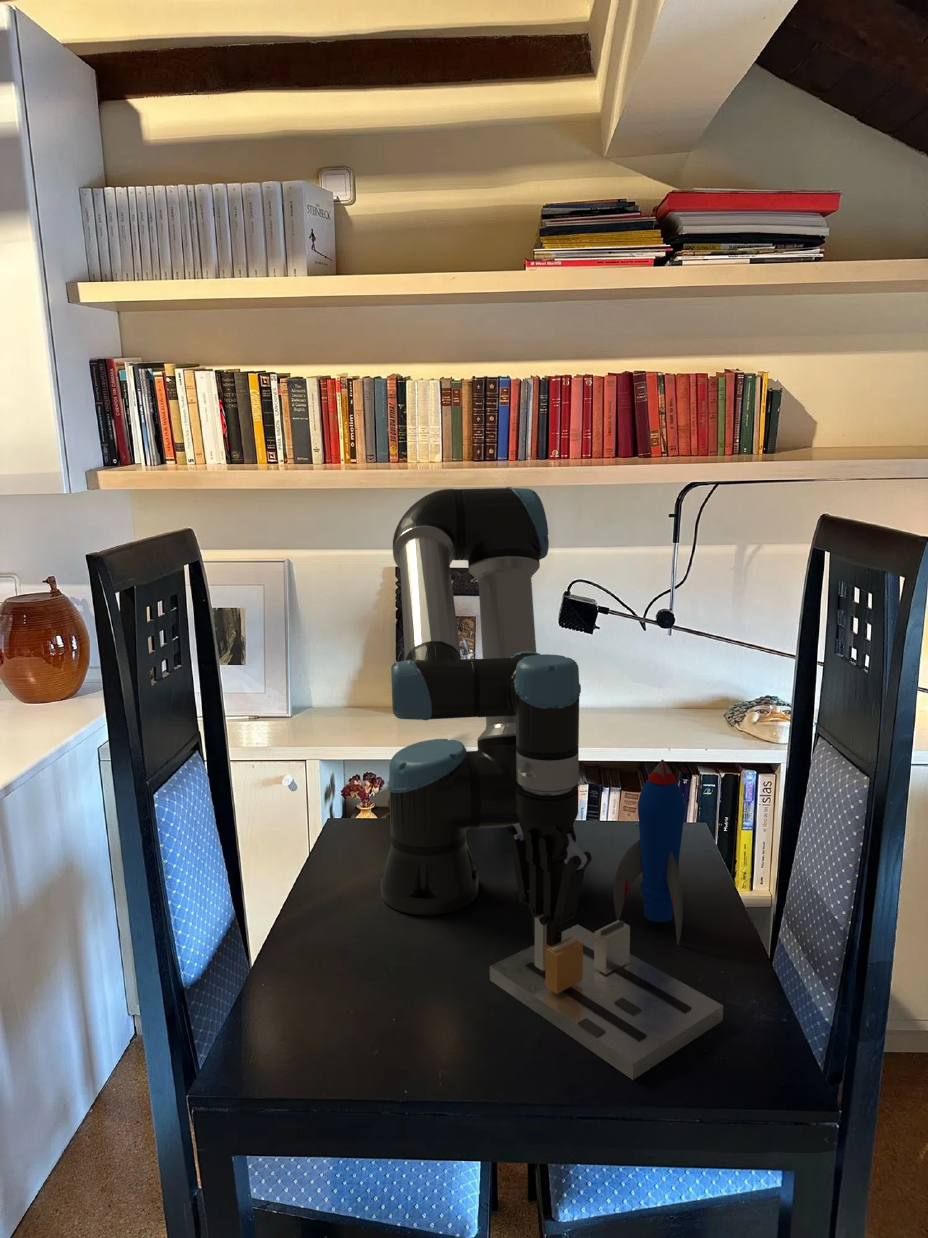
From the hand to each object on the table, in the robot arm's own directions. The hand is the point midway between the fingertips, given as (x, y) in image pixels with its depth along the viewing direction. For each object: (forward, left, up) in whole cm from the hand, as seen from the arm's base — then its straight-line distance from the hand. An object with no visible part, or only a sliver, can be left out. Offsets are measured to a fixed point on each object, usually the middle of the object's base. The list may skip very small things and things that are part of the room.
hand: (546, 964), depth 111 cm
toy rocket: (-3, +22, -4) cm, 23 cm away
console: (+5, +4, -4) cm, 8 cm away
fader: (+3, 0, -1) cm, 3 cm away
